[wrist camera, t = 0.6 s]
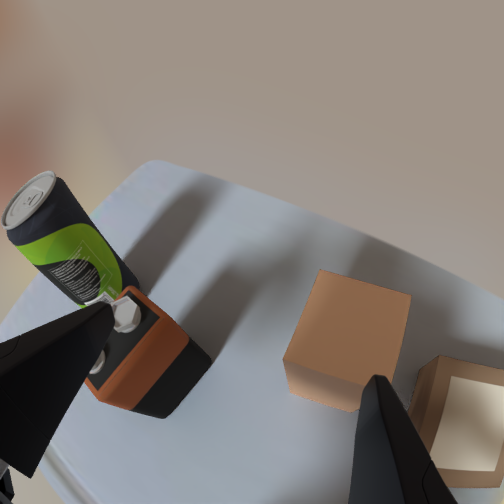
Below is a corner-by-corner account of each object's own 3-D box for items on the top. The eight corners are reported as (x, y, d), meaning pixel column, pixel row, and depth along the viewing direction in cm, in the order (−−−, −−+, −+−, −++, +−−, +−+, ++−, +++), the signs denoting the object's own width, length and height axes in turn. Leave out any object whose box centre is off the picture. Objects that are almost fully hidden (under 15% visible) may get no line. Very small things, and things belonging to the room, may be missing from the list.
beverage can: (151, 278, 29) (71, 163, 17) (130, 332, 25) (21, 231, 13) (107, 272, 30) (30, 173, 18) (86, 320, 27) (-12, 229, 15)
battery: (215, 361, 22) (165, 309, 15) (165, 422, 20) (88, 400, 12) (179, 333, 24) (121, 272, 17) (132, 389, 22) (55, 350, 14)
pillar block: (351, 412, 18) (388, 392, 10) (290, 392, 20) (282, 359, 12) (371, 354, 21) (411, 295, 13) (314, 336, 22) (319, 269, 15)
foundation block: (473, 485, 11) (499, 487, 8) (383, 475, 14) (400, 482, 11) (499, 386, 16) (525, 374, 12) (419, 369, 19) (439, 354, 16)
